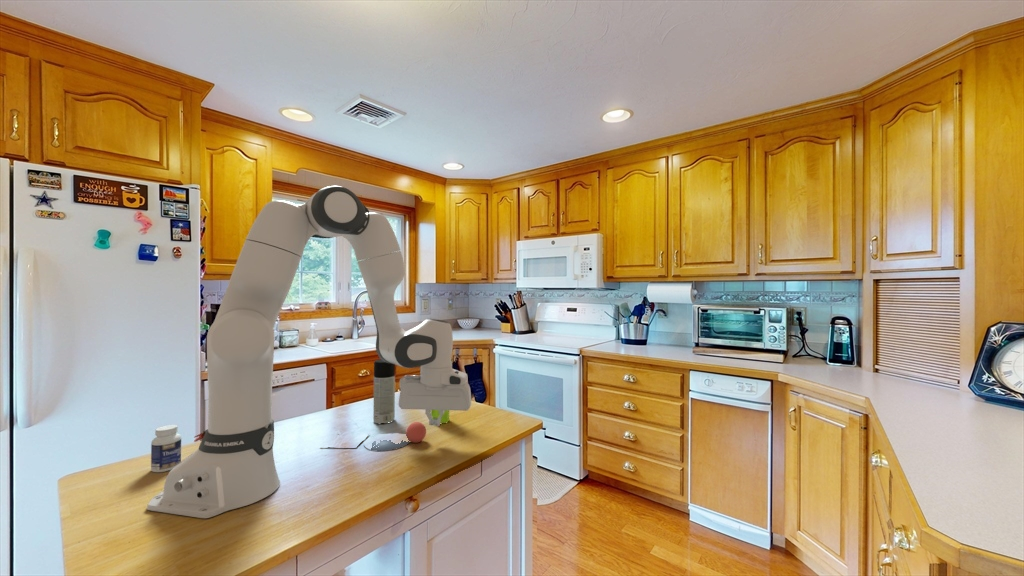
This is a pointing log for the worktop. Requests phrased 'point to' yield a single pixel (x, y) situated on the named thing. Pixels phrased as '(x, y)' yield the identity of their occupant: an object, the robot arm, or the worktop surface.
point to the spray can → (384, 392)
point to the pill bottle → (165, 449)
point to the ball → (416, 432)
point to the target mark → (387, 445)
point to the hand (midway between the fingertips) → (434, 424)
